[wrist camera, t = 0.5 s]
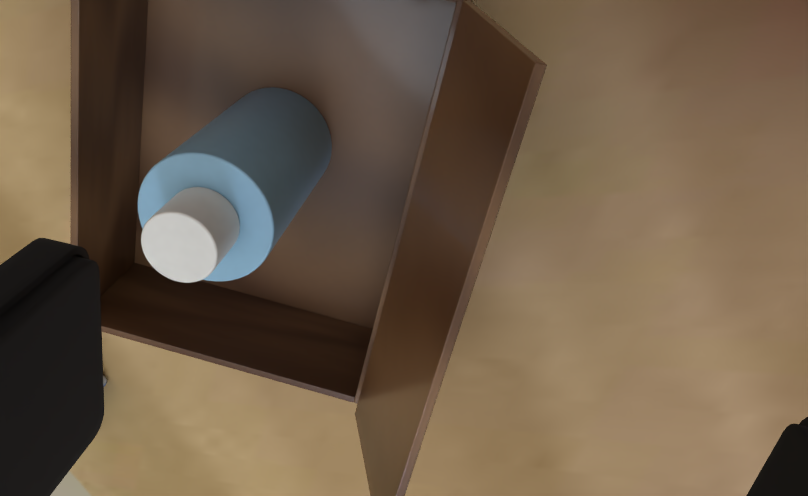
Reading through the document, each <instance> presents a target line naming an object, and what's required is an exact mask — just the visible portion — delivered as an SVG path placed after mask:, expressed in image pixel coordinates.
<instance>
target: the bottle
mask: <svg viewBox="0 0 808 496" xmlns="http://www.w3.org/2000/svg"><path fill="white" fill-rule="evenodd" d="M331 151H332V142H331V135H330V132H329V128H328V126H327V124H326V121H325V120H324V118H323V116H322V115H321V113H320V112H319V111H318V109H317V108H316V107H315V106H314V105H313V104H312V103H311V102H309V101H308V100H307V99H305V98H304V97H302V96H301V95H299V94H297V93H295V92H292V91H290V90H287V89H282V88H273V87H271V88H262V89H258V90H255V91H252V92H250V93H248V94H246V95H245V96H244V97H242V98H241V99H240V100H238V101H237V102H236V103H234V104H233V105H232V106H231V107H229V108H228V109H227V110H225V111H224V112H223V113H222V114H220V115H219V116H218V117H216V118H215V119H214V120H212V121H211V122H210V123H209V124H207V125H206V126H205V127H203V128H202V129H201V130H200V131H198V132H197V133H196V134H194V135H193V136H192V137H190V138H189V139H188V140H187V141H185V142H184V143H183V144H181V145H180V146H179V147H178V148H176V149H175V150H174V151H172V152H171V153H170V154H168V155H167V156H166V157H165V158H163V159H162V160H161V161H159V162H158V163H157V164H156V165H154V166H153V167H152V168H151V169H150V170H149V172H148V173H147V175H146V176H145V178H144V180H143V182H142V184H141V187H140V190H139V195H138V214H139V219H140V223H141V226H142V229H143V230H142V234H141V245H142V249H143V252H144V255H145V257H146V259H147V260H148V262H149V263H150V264H151V265H152V267H153V268H154V269H155V270H157V271H158V272H159V273H160V274H162V275H163V276H165V277H167V278H169V279H171V280H174V281H178V282H184V283H191V282H197V281H200V280H207V281H230V280H235V279H238V278H242V277H244V276H246V275H248V274H250V273H252V272H253V271H255V270H256V269H257V268H258V267H259V266H260V265H261V264H262V263H263V262H264V261H265V259H266V258H267V256H268V255H269V253H270V252H271V251H272V249H273V248H274V246H275V245H276V243H277V242H278V240H279V239H280V237H281V236H282V234H283V233H284V231H285V230H286V228H287V227H288V225H289V224H290V222H291V221H292V219H293V218H294V217H295V215H296V214H297V212H298V211H299V209H300V208H301V206H302V205H303V203H304V202H305V200H306V199H307V197H308V196H309V194H310V193H311V191H312V190H313V188H314V187H315V185H316V184H317V182H318V181H319V180H320V178H321V177H322V175H323V174H324V172H325V170H326V169H327V166H328V164H329V161H330V158H331Z"/></svg>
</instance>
